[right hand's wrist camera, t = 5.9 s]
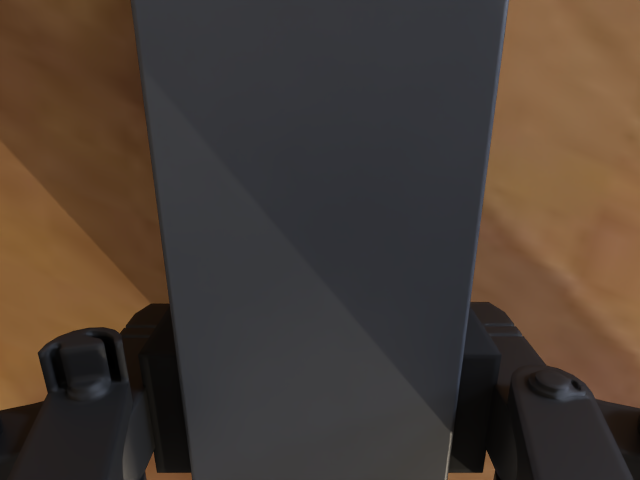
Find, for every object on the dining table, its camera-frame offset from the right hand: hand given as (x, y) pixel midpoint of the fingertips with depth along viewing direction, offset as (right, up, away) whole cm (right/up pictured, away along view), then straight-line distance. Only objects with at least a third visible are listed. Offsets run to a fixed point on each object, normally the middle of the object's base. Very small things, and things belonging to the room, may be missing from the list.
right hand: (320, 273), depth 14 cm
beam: (0, +23, -8) cm, 25 cm away
